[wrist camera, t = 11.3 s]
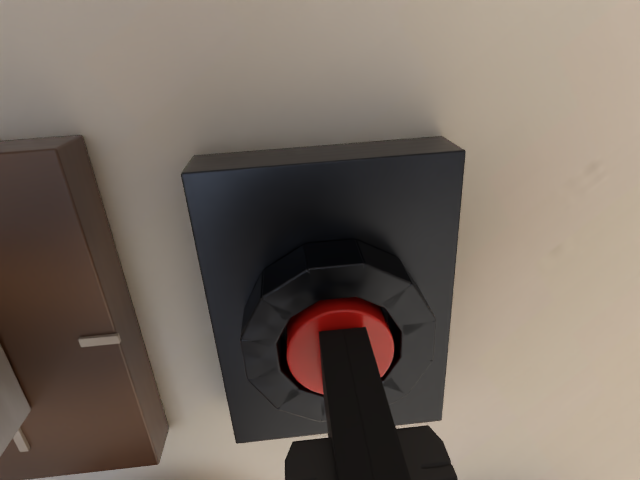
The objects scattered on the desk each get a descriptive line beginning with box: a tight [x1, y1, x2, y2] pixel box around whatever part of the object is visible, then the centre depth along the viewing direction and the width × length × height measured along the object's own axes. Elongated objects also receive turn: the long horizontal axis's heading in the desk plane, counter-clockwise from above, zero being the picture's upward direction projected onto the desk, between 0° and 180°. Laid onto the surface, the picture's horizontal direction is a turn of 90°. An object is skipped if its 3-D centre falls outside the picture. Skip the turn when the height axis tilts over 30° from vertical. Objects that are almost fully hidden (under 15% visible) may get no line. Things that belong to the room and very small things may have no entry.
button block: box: [181, 136, 465, 443], centre depth 16 cm, size 12×9×4 cm
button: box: [286, 297, 394, 394], centre depth 15 cm, size 4×4×2 cm
